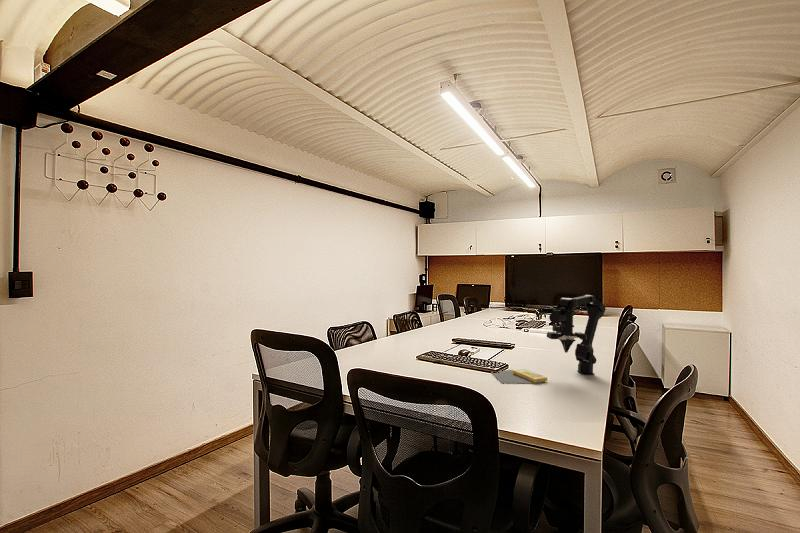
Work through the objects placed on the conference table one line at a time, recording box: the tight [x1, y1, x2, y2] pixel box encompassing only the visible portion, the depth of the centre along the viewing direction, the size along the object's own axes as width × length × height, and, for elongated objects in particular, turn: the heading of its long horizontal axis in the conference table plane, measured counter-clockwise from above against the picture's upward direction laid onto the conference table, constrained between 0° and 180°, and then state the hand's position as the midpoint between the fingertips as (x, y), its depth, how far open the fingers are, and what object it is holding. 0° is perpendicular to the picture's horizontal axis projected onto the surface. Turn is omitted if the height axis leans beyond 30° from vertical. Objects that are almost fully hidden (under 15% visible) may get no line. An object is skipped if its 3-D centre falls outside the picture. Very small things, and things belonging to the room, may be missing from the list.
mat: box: [490, 369, 542, 385], centre depth 200 cm, size 20×22×1 cm
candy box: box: [512, 368, 548, 383], centre depth 198 cm, size 16×2×8 cm
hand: (566, 352), depth 201 cm, fingers closed
